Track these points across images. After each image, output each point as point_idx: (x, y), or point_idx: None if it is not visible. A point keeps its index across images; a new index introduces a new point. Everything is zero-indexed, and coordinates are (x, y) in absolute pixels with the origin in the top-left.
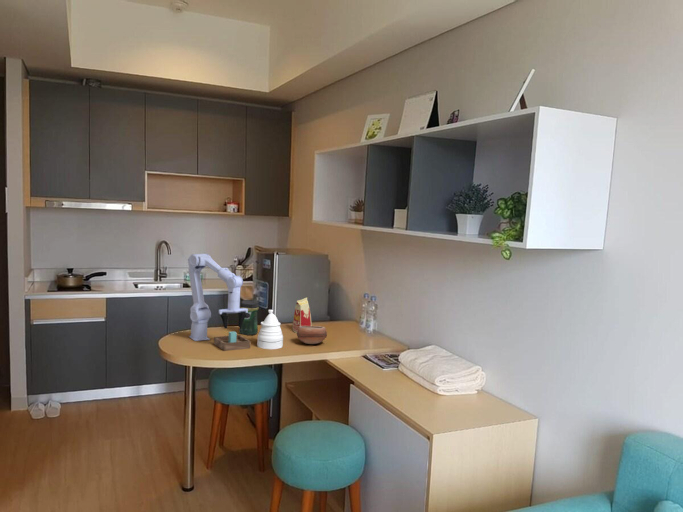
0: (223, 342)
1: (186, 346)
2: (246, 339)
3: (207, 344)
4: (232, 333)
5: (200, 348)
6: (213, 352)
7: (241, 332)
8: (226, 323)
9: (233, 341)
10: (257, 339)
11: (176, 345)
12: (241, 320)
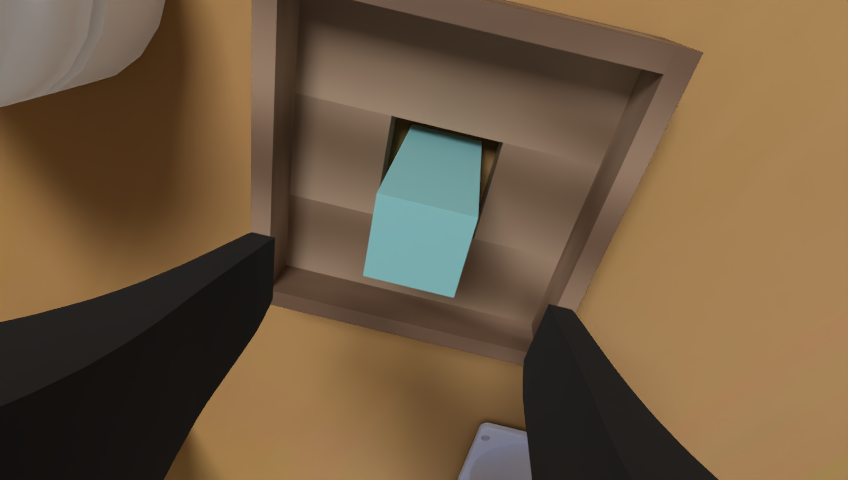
0: (652, 122)
1: (799, 385)
2: (265, 79)
3: (598, 338)
4: (450, 207)
5: (770, 272)
6: (827, 49)
7: None
8: (596, 372)
9: (439, 155)
10: (104, 32)
11: (828, 442)
12: (175, 305)
